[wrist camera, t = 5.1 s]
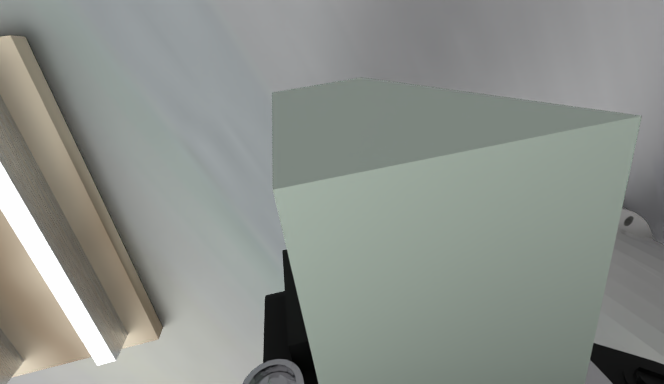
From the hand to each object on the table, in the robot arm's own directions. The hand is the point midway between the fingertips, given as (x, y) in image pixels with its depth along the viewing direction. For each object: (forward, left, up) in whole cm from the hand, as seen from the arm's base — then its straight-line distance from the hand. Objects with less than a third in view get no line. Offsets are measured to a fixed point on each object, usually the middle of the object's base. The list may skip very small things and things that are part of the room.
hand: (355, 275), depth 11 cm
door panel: (0, 0, -2) cm, 2 cm away
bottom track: (+17, 0, -10) cm, 20 cm away
